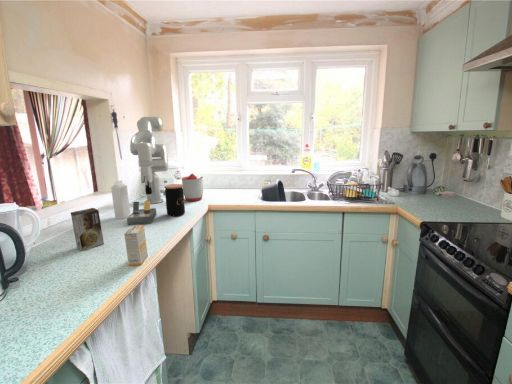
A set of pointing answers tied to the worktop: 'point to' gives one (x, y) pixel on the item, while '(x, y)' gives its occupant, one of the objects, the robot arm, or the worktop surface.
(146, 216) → the switch panel
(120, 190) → the milk
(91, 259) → the worktop surface
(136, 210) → the paddle black
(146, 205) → the paddle amber
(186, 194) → the citrus juicer
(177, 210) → the coffee jar
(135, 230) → the supplement box
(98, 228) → the coffee box
